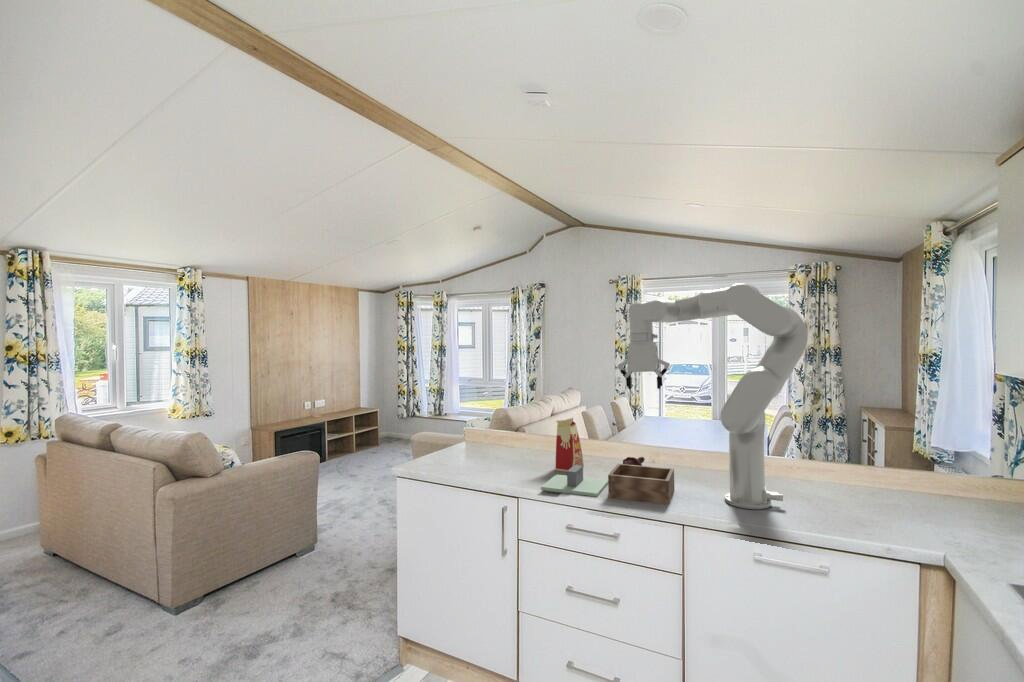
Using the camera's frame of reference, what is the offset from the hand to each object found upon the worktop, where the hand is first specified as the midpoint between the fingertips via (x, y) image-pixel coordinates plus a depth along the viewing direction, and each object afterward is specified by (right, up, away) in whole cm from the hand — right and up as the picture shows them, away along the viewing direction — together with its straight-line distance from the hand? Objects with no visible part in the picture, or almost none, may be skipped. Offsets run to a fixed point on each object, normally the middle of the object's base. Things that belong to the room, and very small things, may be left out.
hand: (644, 388), depth 164 cm
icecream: (-1, -33, +11) cm, 35 cm away
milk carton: (-23, -34, +22) cm, 46 cm away
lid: (-24, -33, -3) cm, 41 cm away
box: (-4, -33, -12) cm, 36 cm away
